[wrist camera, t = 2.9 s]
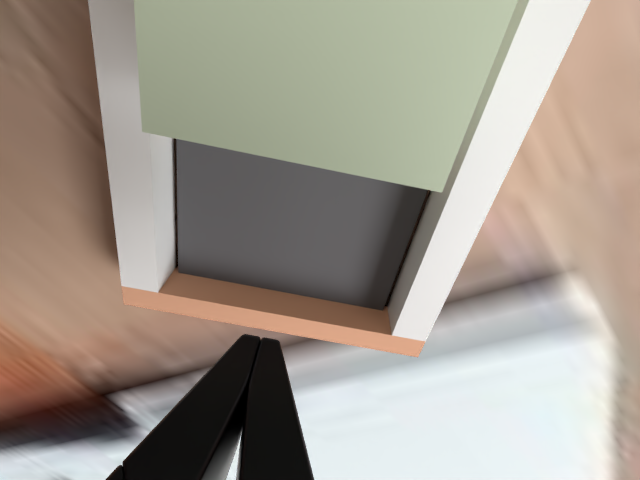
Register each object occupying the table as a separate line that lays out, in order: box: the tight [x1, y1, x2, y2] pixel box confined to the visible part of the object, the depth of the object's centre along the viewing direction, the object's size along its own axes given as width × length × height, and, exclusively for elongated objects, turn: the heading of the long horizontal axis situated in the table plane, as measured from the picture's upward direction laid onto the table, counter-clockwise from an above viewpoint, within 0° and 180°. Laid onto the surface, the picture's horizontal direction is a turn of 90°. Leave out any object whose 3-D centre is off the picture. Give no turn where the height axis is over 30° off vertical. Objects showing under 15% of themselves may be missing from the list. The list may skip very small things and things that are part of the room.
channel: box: [88, 0, 591, 342], centre depth 8 cm, size 10×18×2 cm, turn 169°
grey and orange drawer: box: [122, 139, 428, 357], centre depth 12 cm, size 10×6×2 cm, turn 79°
